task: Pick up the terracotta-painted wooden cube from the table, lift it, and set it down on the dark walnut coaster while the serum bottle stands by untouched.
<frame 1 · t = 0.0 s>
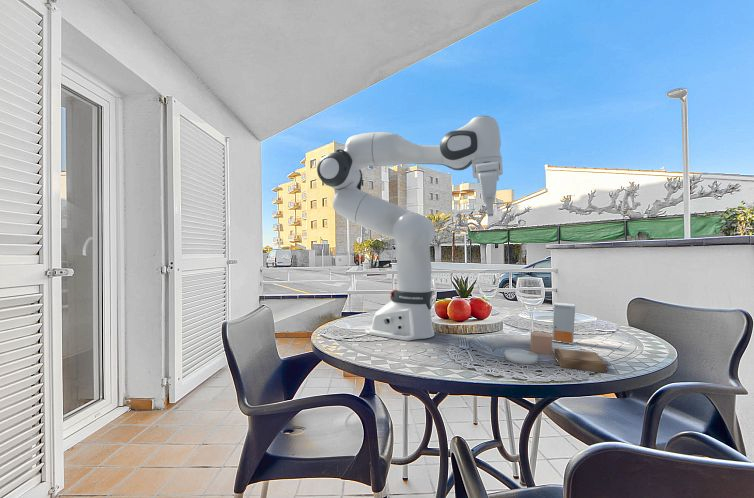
hand: (490, 215, 113), 39 cm above the table, tool pointing down, fingers open, 8 cm apart
walnut coaster: (578, 363, 95), on the table
skincare box: (562, 342, 116), on the table
terracotta cube: (540, 351, 105), on the table
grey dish: (520, 359, 97), on the table
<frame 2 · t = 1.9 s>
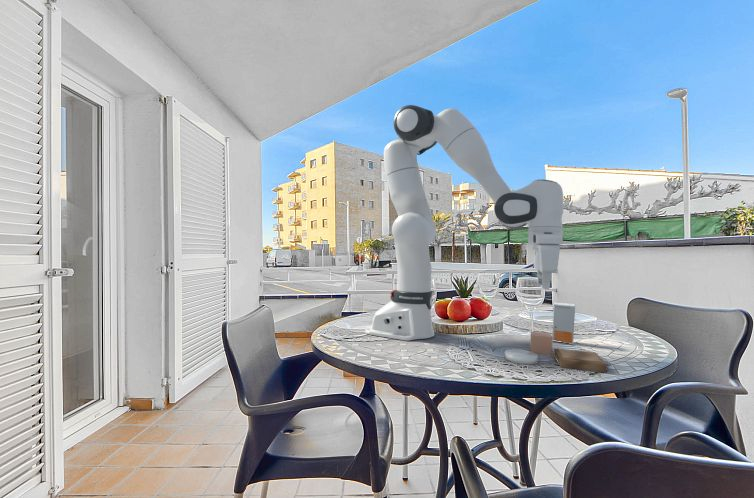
hand: (543, 286, 105), 18 cm above the table, tool pointing down, fingers open, 8 cm apart
nothing on the table moved.
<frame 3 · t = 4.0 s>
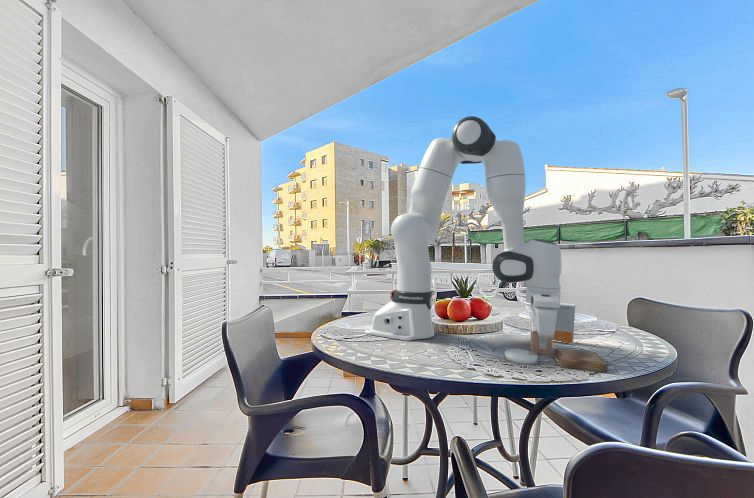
hand: (540, 345, 105), 2 cm above the table, tool pointing down, fingers closed on terracotta cube, 5 cm apart
terracotta cube: (540, 351, 105), on the table, touching gripper
everything else where it was.
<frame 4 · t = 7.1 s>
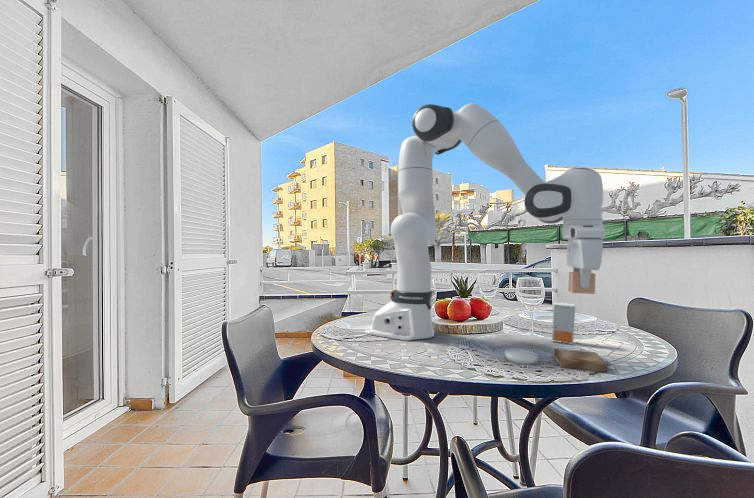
hand: (581, 285, 95), 20 cm above the table, tool pointing down, fingers closed on terracotta cube, 5 cm apart
terracotta cube: (581, 292, 95), point 18 cm above the table, touching gripper
everything else where it was.
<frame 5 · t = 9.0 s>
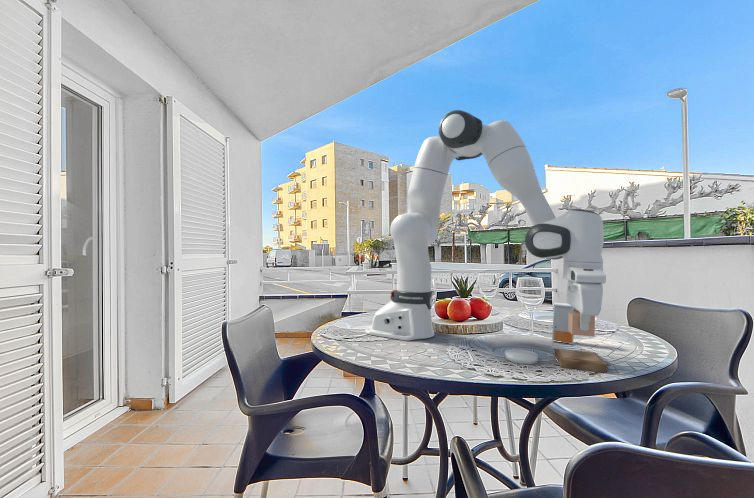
hand: (580, 327, 95), 9 cm above the table, tool pointing down, fingers closed on terracotta cube, 5 cm apart
terracotta cube: (580, 333, 95), point 8 cm above the table, touching gripper
everything else where it was.
when the fingers open (5 cm above the table, at t = 10.3 s): terracotta cube drops 1 cm, resting on walnut coaster.
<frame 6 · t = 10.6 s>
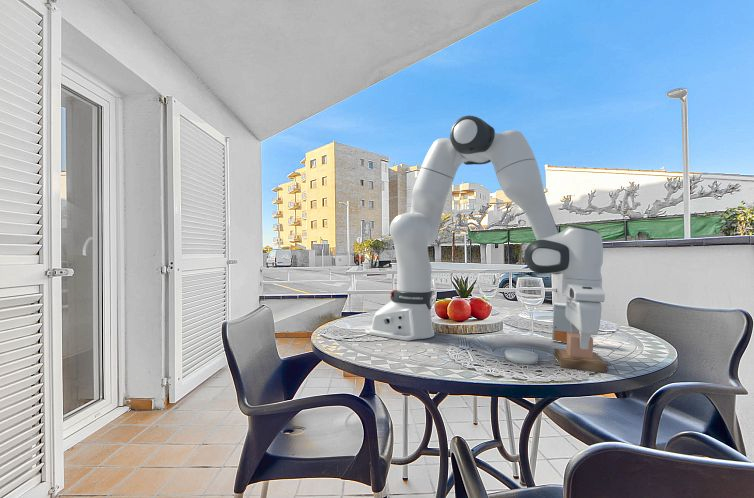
hand: (579, 343, 95), 5 cm above the table, tool pointing down, fingers open, 8 cm apart
terracotta cube: (578, 354, 95), point 2 cm above the table, touching walnut coaster
everything else where it was.
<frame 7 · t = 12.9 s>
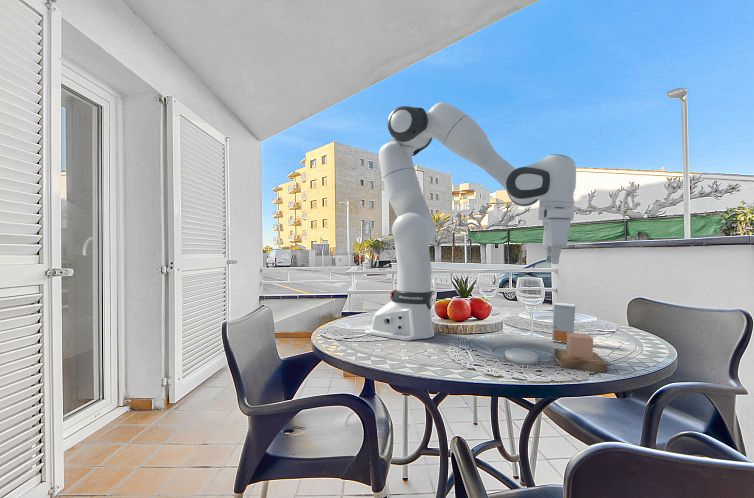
hand: (552, 263, 104), 25 cm above the table, tool pointing down, fingers open, 8 cm apart
nothing on the table moved.
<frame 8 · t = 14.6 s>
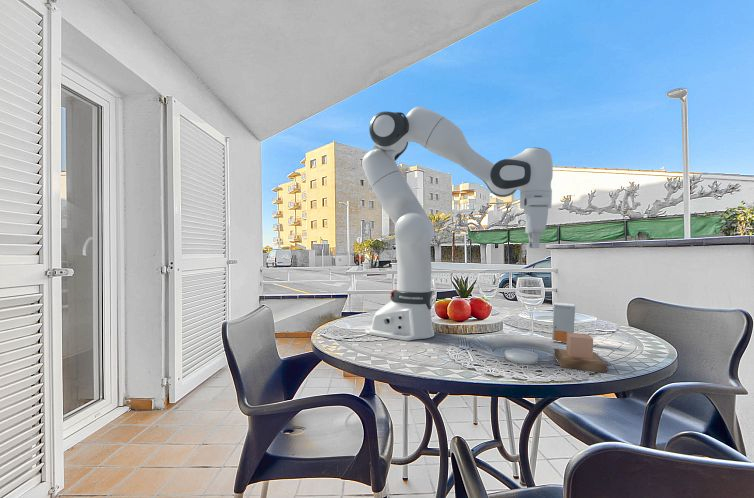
hand: (533, 248, 113), 29 cm above the table, tool pointing down, fingers open, 8 cm apart
nothing on the table moved.
at the end: terracotta cube inside the target area on the walnut coaster (0.0 cm from its centre), point 2.2 cm above the walnut coaster's base; the gripper is holding nothing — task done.
